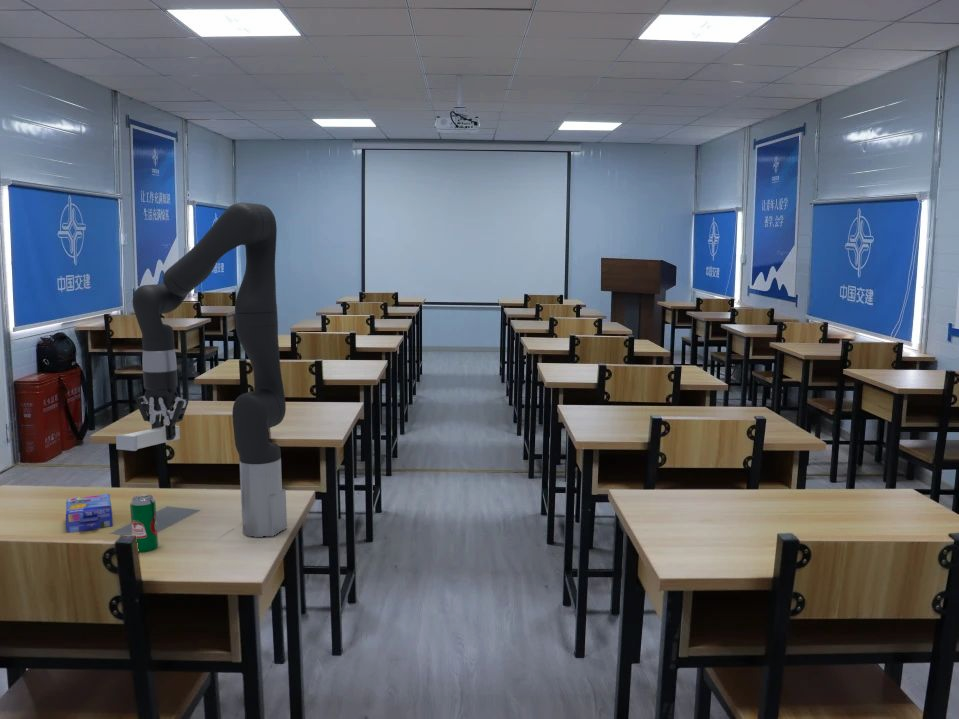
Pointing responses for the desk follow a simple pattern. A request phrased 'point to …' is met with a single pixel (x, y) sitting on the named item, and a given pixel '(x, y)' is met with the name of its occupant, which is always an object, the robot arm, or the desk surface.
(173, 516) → the mat
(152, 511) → the soda can
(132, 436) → the white square rod
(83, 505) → the ink cartridge box
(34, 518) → the desk surface
